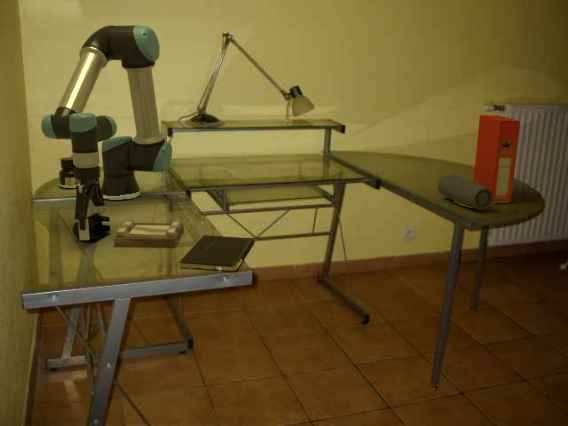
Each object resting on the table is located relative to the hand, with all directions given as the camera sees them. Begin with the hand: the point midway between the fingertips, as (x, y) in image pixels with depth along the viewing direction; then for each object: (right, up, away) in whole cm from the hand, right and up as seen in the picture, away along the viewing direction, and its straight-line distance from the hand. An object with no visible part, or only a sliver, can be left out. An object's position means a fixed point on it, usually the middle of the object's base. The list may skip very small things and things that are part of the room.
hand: (92, 232), depth 181 cm
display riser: (+18, -2, +1) cm, 18 cm away
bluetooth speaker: (+128, +9, +42) cm, 135 cm away
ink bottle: (-29, +17, +62) cm, 70 cm away
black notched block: (0, -2, +1) cm, 2 cm away
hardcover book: (+41, -7, -13) cm, 43 cm away
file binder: (+142, +12, +52) cm, 152 cm away
